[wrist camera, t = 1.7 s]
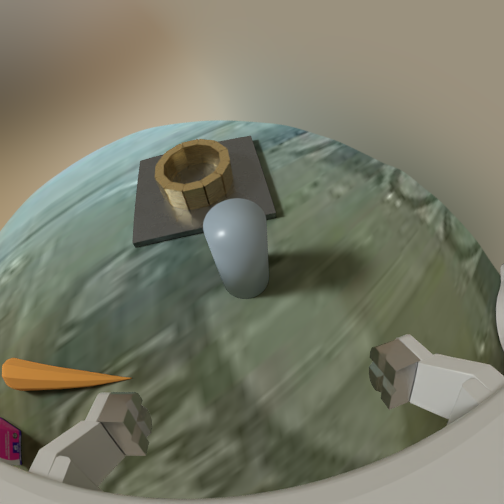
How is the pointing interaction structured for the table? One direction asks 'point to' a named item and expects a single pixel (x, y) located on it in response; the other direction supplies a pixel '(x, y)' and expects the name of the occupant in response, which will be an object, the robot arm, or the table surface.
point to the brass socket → (197, 191)
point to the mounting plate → (191, 221)
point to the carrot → (50, 376)
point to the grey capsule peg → (239, 246)
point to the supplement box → (10, 443)
